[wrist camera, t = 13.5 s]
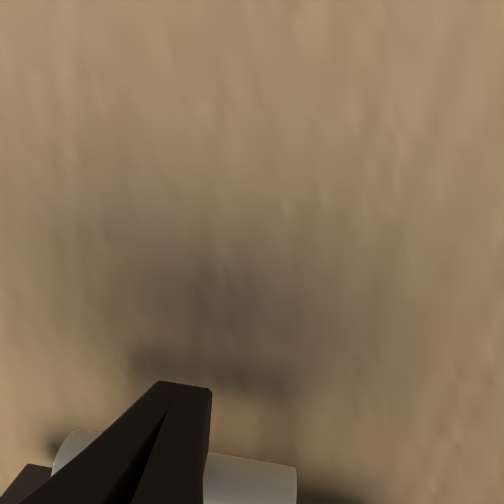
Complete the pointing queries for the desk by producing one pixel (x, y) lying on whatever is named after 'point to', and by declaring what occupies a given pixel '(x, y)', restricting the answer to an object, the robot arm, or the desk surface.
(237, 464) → the drawer
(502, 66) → the desk surface
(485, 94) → the desk surface
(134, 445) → the robot arm
